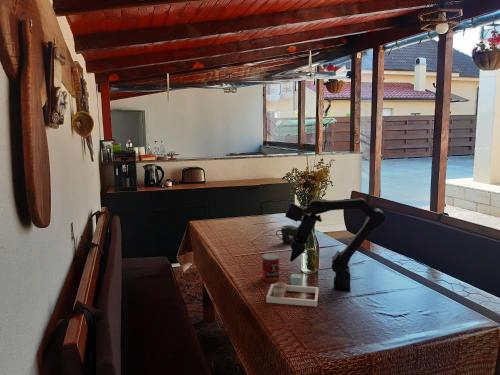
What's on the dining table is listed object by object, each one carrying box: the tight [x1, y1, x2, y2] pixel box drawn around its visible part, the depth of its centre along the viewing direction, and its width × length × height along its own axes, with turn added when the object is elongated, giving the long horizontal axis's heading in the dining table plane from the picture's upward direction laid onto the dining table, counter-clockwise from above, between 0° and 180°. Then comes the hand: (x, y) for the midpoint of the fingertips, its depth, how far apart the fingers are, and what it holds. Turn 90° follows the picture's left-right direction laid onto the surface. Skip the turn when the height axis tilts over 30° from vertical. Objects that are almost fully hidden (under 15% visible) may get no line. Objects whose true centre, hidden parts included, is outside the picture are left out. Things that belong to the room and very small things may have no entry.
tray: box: [265, 283, 319, 307], centre depth 169 cm, size 20×14×2 cm
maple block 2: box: [273, 289, 285, 298], centre depth 167 cm, size 4×4×4 cm
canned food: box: [262, 253, 280, 283], centre depth 188 cm, size 8×8×11 cm
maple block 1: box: [275, 281, 287, 296], centre depth 173 cm, size 4×4×4 cm
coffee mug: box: [275, 224, 296, 246], centre depth 245 cm, size 12×9×10 cm
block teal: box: [290, 273, 303, 286], centre depth 182 cm, size 4×4×4 cm
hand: (292, 257), depth 181 cm, fingers open, 9 cm apart
